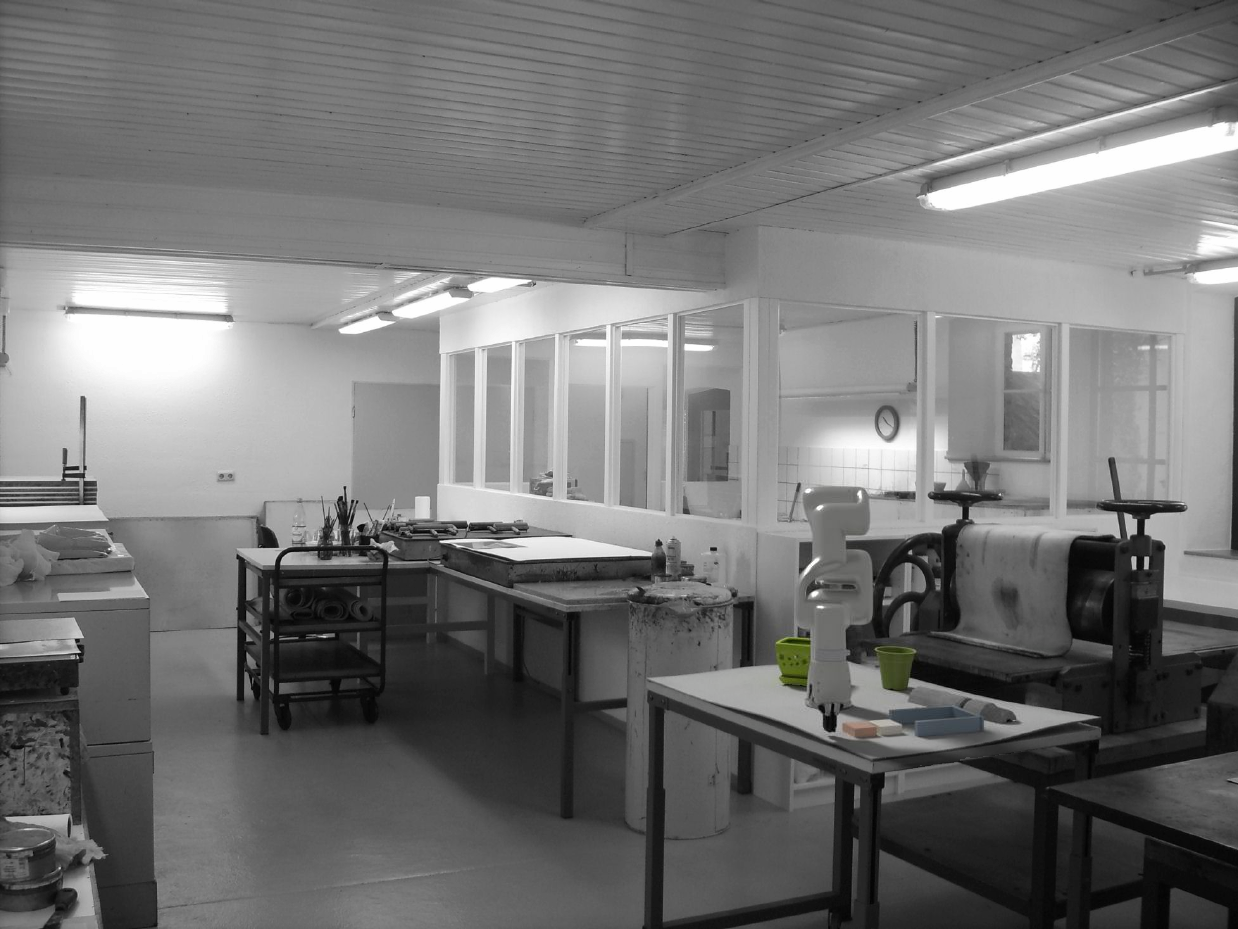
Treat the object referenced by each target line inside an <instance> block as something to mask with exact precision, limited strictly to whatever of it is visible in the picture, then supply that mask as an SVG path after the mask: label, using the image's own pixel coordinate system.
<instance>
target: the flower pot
mask: <svg viewBox="0 0 1238 929" xmlns="http://www.w3.org/2000/svg"><path fill="white" fill-rule="evenodd" d="M774 648H775V654H776V655H775V656H776V660H777V665H778V668H779V671H780V672H781V675H779V676H778V679H779V681H780V682H781V683H782V684H784V683H785V684H784V685H788V684H789V685H790V684H792V685H791V686H800V685H802V687H807V681H808V672H809V667H810V662H811V638H808V637H807V638H806V637H796V636H794V637H792V636H787V637H785V638H781V639H780V640H778V641H776V642H775V647H774ZM795 656H796V657H795Z"/></svg>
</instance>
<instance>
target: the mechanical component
mask: <svg viewBox="0 0 1238 929" xmlns="http://www.w3.org/2000/svg"><path fill="white" fill-rule="evenodd" d="M907 703H911V704H915V705H919V706H923V707H935V706H949V705H954V706H957V707H959V708H962V709H964V710H967V711H970V712H972V713H975V714H978V715H980V716H983V717H984V722H985V721H986V722H990V723H994V724H998V723H999V725H1001V724H1002V723H1003V724H1006V722H1008V721H1007V720H1010V721H1009V722H1011V721H1013V720H1017V721H1018V719H1017V715H1016V714H1015V712H1014V711H1012V710H1010V709H1006V708H1003V707H999V706H997V704H995V703H993V702H989V701H984V700H980V699H975V698H974V699H973V697H967V696H964V695H961V694H960V695H959V694H955V693H951V692H946V691H942V690H937V689H934V688H929V687H927V686H921V685H920V686H916V687H915V688H913V689H911V692H910V693H909V695H908V699H907ZM1013 722H1014V721H1013Z"/></svg>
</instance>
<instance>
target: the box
mask: <svg viewBox="0 0 1238 929" xmlns="http://www.w3.org/2000/svg"><path fill="white" fill-rule="evenodd" d="M888 719H890V720H892V721H894V722H897V723H899V724H901V725H907V724H908V725H909V724H914V736H916V737H928V736H941V735H953V734H965V733H975V732H976V733H977V732H984V731H985V720H984V717H983V716H980V715H978V714H975V713H972V712H970V711H967V710H964V709H962V708H959V707H957V706H954V705H949V706H935V707H926V706H923V707H913V708H912V707H910V708H908V707H907V708H896V709H889V710H888Z"/></svg>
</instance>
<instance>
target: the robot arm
mask: <svg viewBox="0 0 1238 929" xmlns="http://www.w3.org/2000/svg"><path fill="white" fill-rule="evenodd" d="M802 506H803V510H804V514H805V516H806V518H807V521H808V523H809V527H810V530H811V535H812V536H811V537H812V538H811V539H812V542H811V543H812V549H811V550H812V557H811V558H812V559H811V562H810V563H808V565H807V566H806V567H805V568H804V570H802V572H801V573H800V575H799V577H798V579H797V581H796V585H795V587H794V605H793V606H794V610H793V611H794V612H793V613H794V622H795V624H796V625H797V627H798V628H801V629H803V630H810V631H809V634H810V639H811V662H810V667H809V672H808V681H807V686H806V698H805V699H804V704H805V705H806V706H808V707H809V708H811V709H815V710H818V711H819V712H820V713H821V715H822V728H823V730H824V731H825V732H827V733H829V734H830V733H836V731H837V728H838V727H837V726H838V716H839V714H840V712H841V711H842V710H843V709H849V708H850V707H852V705H853V702H852V700H851V699H852V678H851V671H850V666H849V662H848V660H847V656H850V655H851V651H850V649H847V642H846V634H847V632H846V630H847V629H848V628H849V627H850V626H851V625H854V626H855V625H857V626H861V625H868V624H870V622H871V621H872V619H873V614H874V598H873V597H874V595H873V594H874V593H873V592H874V591H873V590H874V589H873V588H874V587H873V586H874V585H873V582H874V580H873V561H872V558H871V555H870V553H869V552H868V551H866V550H863V549H852V548H850V549H848V548H847V542H846V541H847V538H846V537H847V536H849V537H850V536H852V537H853V536H855V537H856V536H858V537H860V536H865V535H867V534H868V533H869V530H870V525H871V509H870V498H869V493H868V491H867V490H866V488H864V487H861V486H834V485H833V486H831V485H830V486H829V485H828V486H826V485H823V486H822V485H821V486H820V485H819V486H812V487H809V488H806V489H804V490H803V493H802ZM814 580H815V581H816V582H818V583H820V584H826V585H827V584H828V585H852V586H854V587H855V589H852V588H851V589H847V588H845V589H843V588H842V589H841V588H819V589H815V590H813V591H812V592H810V593H809V595H808V597H807V598H806V592H807V588H808V586H809V585H810V584H811V583H812V582H813V581H814Z"/></svg>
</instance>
